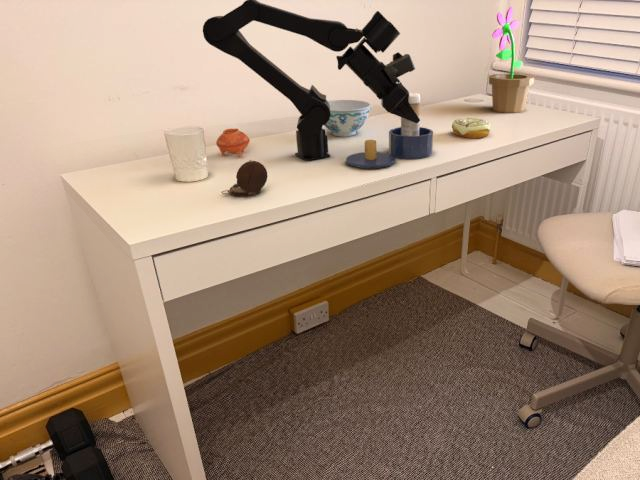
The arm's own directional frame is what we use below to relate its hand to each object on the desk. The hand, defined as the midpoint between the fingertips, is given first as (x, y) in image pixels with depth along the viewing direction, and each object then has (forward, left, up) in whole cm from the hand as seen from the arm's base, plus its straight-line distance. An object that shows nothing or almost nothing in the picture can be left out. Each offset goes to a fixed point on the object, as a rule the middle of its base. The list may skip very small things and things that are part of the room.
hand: (415, 117), depth 132 cm
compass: (-46, -5, -9) cm, 47 cm away
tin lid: (-14, -1, -8) cm, 16 cm away
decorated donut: (+24, +7, -9) cm, 26 cm away
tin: (-1, +1, -8) cm, 9 cm away
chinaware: (-4, +28, -9) cm, 29 cm away
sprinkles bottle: (-1, +1, -8) cm, 8 cm away
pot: (-37, +24, -9) cm, 45 cm away
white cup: (-51, +12, -9) cm, 53 cm away
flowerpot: (+57, +26, -9) cm, 63 cm away
